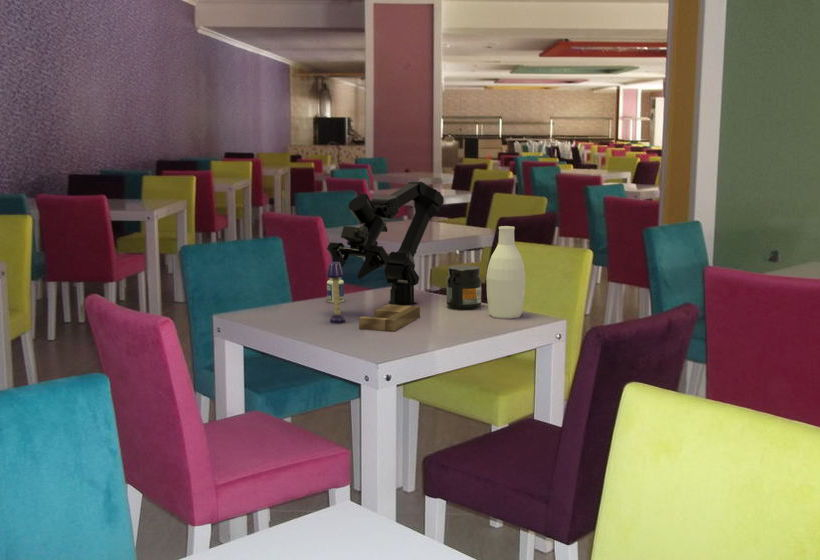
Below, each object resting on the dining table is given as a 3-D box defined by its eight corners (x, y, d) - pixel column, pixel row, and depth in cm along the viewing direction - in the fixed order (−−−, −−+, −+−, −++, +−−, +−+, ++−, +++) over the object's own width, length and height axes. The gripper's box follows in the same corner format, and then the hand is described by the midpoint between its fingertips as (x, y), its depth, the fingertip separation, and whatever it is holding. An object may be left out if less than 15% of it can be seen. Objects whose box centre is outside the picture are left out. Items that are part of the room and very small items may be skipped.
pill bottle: (345, 300, 289) (345, 272, 288) (342, 303, 284) (342, 274, 283) (328, 299, 290) (328, 271, 288) (325, 302, 285) (325, 274, 283)
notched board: (359, 328, 247) (358, 317, 247) (387, 314, 266) (387, 304, 266) (393, 331, 244) (393, 320, 243) (419, 316, 263) (419, 306, 262)
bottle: (531, 318, 261) (533, 228, 257) (494, 320, 258) (495, 229, 254) (515, 310, 271) (517, 224, 267) (480, 313, 268) (481, 225, 264)
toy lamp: (331, 324, 254) (330, 263, 251) (325, 321, 258) (324, 261, 255) (347, 322, 256) (346, 262, 253) (341, 319, 260) (340, 260, 257)
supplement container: (487, 309, 274) (487, 269, 272) (454, 311, 271) (454, 271, 269) (472, 303, 284) (473, 264, 282) (440, 305, 280) (441, 266, 278)
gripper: (330, 213, 265) (305, 256, 258) (383, 217, 255) (359, 261, 247) (347, 238, 273) (324, 280, 265) (399, 243, 262) (376, 286, 255)
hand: (345, 276), depth 258 cm, fingers open, 9 cm apart
